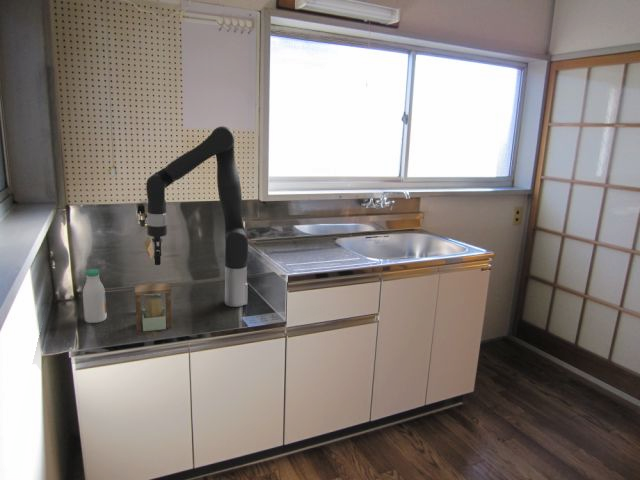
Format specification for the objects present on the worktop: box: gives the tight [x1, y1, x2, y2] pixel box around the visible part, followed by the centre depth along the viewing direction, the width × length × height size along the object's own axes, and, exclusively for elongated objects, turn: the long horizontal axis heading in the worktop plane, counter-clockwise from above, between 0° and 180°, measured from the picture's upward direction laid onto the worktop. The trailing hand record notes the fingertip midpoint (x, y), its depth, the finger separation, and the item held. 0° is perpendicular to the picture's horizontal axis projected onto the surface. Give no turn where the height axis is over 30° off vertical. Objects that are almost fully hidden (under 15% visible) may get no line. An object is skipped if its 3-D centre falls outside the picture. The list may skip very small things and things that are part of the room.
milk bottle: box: [82, 268, 108, 324], centre depth 175 cm, size 8×8×20 cm
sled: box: [141, 293, 167, 332], centre depth 180 cm, size 8×21×7 cm, turn 21°
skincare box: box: [144, 294, 164, 318], centre depth 174 cm, size 6×4×12 cm
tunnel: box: [134, 282, 173, 333], centre depth 174 cm, size 12×7×16 cm, turn 111°
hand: (157, 261), depth 190 cm, fingers open, 8 cm apart
